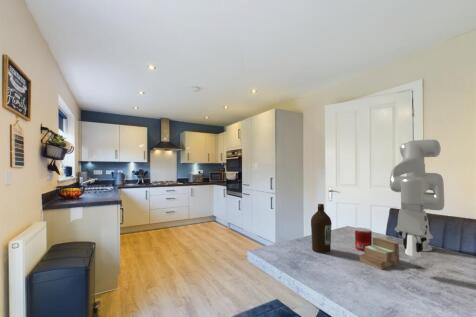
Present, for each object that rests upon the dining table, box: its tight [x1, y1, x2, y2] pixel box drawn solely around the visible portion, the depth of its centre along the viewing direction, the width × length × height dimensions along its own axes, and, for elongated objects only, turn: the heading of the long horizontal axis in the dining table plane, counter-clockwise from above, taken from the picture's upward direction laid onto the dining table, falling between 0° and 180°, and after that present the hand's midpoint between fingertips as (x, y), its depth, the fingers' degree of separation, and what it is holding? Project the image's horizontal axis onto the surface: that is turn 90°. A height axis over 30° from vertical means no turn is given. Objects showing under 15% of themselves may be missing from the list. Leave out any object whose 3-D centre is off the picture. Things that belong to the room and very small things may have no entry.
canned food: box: [354, 227, 373, 253], centre depth 125 cm, size 8×8×11 cm
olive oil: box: [310, 203, 333, 254], centre depth 124 cm, size 11×11×25 cm
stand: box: [359, 236, 400, 271], centre depth 108 cm, size 15×11×10 cm
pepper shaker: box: [404, 234, 422, 258], centre depth 97 cm, size 5×5×11 cm
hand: (412, 249), depth 97 cm, fingers closed on pepper shaker, 3 cm apart
